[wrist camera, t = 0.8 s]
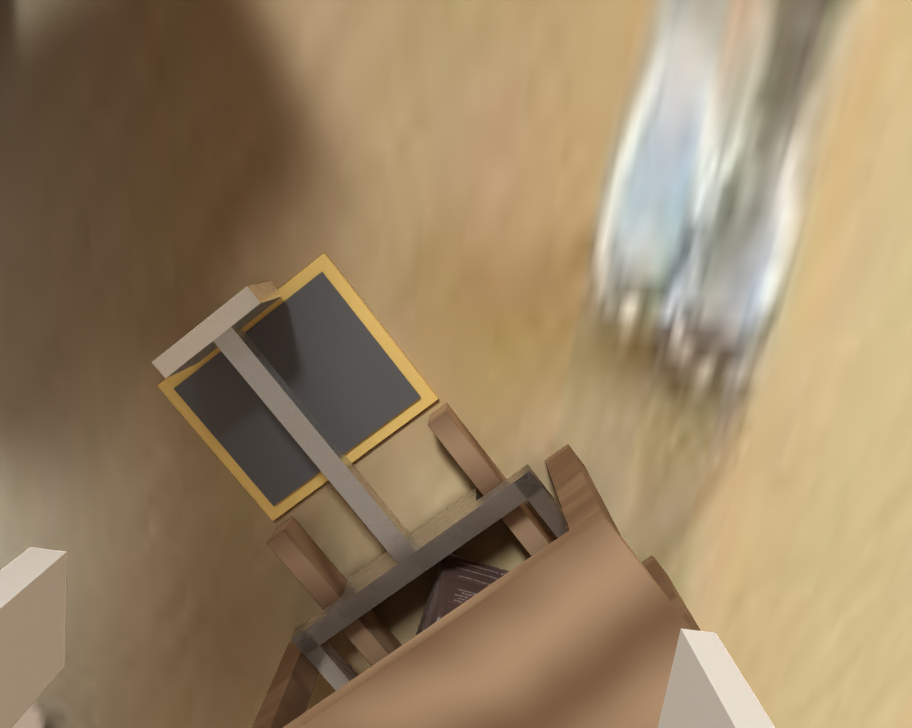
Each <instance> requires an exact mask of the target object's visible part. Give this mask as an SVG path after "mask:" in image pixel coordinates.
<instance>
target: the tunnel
mask: <svg viewBox="0 0 912 728" xmlns="http://www.w3.org/2000/svg"><path fill="white" fill-rule="evenodd" d="M428 426H429V427H430V429H431V430H432V431H433V433H434V434H435V435H436V436H437V438H438V439H439V440H440V441H441V443H442V444H443V445H444V446H445V448H446V449H447V450H448V451H449V453H450V454H451V455H452V457H453V458H454V459H455V460H456V462H457V463H458V464H459V465H460V467H461V468H462V469H463V470H464V472H465V473H466V474H467V476H468V477H469V478H470V479H471V481H472V482H473V483H474V484H475V486H476V487H477V488H478V489H479V491H480V492H481V493H482V494H483V496H484V495H485V494H487V493H488V492H490V491H491V490H492V489H494V488H495V487H497V486H498V485H499V484H501V483H502V482H504V481H505V480H507V479H506V478H505V477H504V475H503V474H502V473H501V472H500V470H499V469H498V468H497V467H496V465H495V464H494V463H493V461H492V460H491V459H490V458H489V456H488V455H487V454H486V452H485V451H484V450H483V449H482V447H481V446H480V445H479V443H478V442H477V441H476V440H475V438H474V437H473V436H472V435H471V433H470V432H469V431H468V429H467V428H466V427H465V426H464V424H463V423H462V422H461V420H460V419H459V418H458V417H457V415H456V414H455V413H454V412H453V410H452V409H451V408H450V406H449V405H448V404H447V403H446V404H445V405H443V406H442V407H441V408H439V409H438V410H437V411H435V412H434V413H432V414H431V415H430V417H429V422H428ZM545 462H546V465H547V468H548V470H549V473H550V476H551V479H552V482H553V484H554V487H555V490H556V493H557V496H558V499H559V501H560V504H561V507H562V510H563V513H564V515H565V518H566V521H567V524H568V527H569V529H570V530H569V531H568V532H566V533H565V534H563V535H562V536H560V537H559V538H557V539H556V540H554V539H553V538H552V537H551V536H550V534H549V533H548V532H547V530H546V529H545V528H544V527H543V525H542V524H541V523H540V522H539V520H538V519H537V518H536V516H535V515H534V514H533V513H532V511H531V510H530V509H529V507H528V506H527V505H526V504H525V502H523V503H522V504H521V505H519V506H518V507H516V508H515V509H513V510H512V511H511V512H509V513H508V514H506V515H505V516H503V517H502V520H503V521H504V522H505V524H506V525H507V526H508V527H509V529H510V530H511V531H512V532H513V534H514V535H515V536H516V537H517V539H518V540H519V541H520V542H521V544H522V545H523V546H524V548H525V549H526V550H527V551H528V553H529V554H530V555H531V557H530V558H528V559H527V560H525V561H524V562H522V563H521V564H520V565H518V566H517V567H515V568H514V569H512V570H511V571H509V572H508V573H506V574H505V575H504V576H502V577H501V578H499V579H498V580H496V581H495V582H493V583H492V584H490V585H489V586H488V587H486V588H485V589H483V590H482V591H480V592H479V593H477V594H476V595H475V596H473V597H472V598H470V599H469V600H467V601H466V602H464V603H463V604H461V605H460V606H459V607H457V608H456V609H454V610H453V611H451V612H450V613H448V614H447V615H445V616H444V617H443V618H441V619H440V620H438V621H437V622H435V623H434V624H432V625H431V626H429V627H428V628H427V629H425V630H424V631H422V632H421V633H419V634H418V635H416V636H415V637H413V638H412V639H411V640H409V641H408V642H406V643H405V644H403V645H401V644H400V642H399V641H398V640H397V639H396V638H395V637H394V635H393V634H392V633H391V632H390V631H389V630H388V628H387V627H386V626H385V625H384V624H383V622H382V621H381V620H380V619H379V618H378V617H377V615H376V614H375V613H374V612H373V611H372V609H371V610H369V611H368V612H367V613H365V614H364V615H362V616H361V617H359V618H358V619H357V620H355V621H354V622H352V623H351V624H349V625H348V626H347V627H345V628H344V629H342V631H343V633H344V634H345V635H346V636H347V637H348V638H349V640H350V641H351V642H352V643H353V644H354V645H355V647H356V648H357V649H358V650H359V651H360V652H361V654H362V655H363V656H364V657H365V658H366V659H367V661H368V662H369V663H370V664H371V665H372V666H371V667H370V668H368V669H367V670H366V671H364V672H363V673H361V674H360V675H358V676H357V677H355V678H354V679H352V680H351V681H350V682H348V683H347V684H345V685H344V686H342V687H341V688H339V689H338V690H336V691H335V692H334V693H332V694H331V695H329V696H328V697H326V698H325V699H323V700H322V701H320V702H319V703H318V704H316V705H315V706H313V707H312V708H310V709H309V710H307V711H306V708H307V705H308V702H309V699H310V696H311V693H312V690H313V687H314V684H315V682H316V679H317V676H318V673H319V671H318V670H317V669H316V668H315V666H314V665H313V664H312V663H311V662H310V661H309V660H308V659H307V657H306V656H305V655H304V654H303V653H302V652H301V651H300V649H299V648H298V647H297V646H296V645H295V644H294V643H293V641H292V640H291V641H290V642H289V644H288V647H287V649H286V651H285V654H284V656H283V658H282V661H281V663H280V665H279V667H278V670H277V672H276V674H275V677H274V679H273V681H272V684H271V686H270V688H269V690H268V693H267V695H266V697H265V700H264V702H263V704H262V707H261V709H260V711H259V713H258V716H257V718H256V720H255V723H254V725H253V727H252V728H658V724H659V720H660V716H661V711H662V707H663V703H664V698H665V694H666V690H667V686H668V681H669V677H670V673H671V668H672V664H673V660H674V656H675V651H676V647H677V643H678V639H679V634H680V630H681V628H682V629H690V630H698V631H701V630H700V629H699V627H698V625H697V624H696V622H695V620H694V619H693V617H692V615H691V614H690V612H689V610H688V609H687V607H686V605H685V604H684V602H683V600H682V599H681V597H680V595H679V594H678V592H677V590H676V589H675V587H674V585H673V584H672V582H671V580H670V578H669V577H668V575H667V574H666V573H665V571H664V570H663V569H662V567H661V566H660V565H659V563H658V562H657V561H656V559H655V558H654V557H653V556H651V557H649V558H648V559H646V560H645V561H643V562H642V563H641V562H640V560H639V559H638V558H637V557H636V555H635V554H634V553H633V551H632V550H631V549H630V547H629V546H628V545H627V543H626V542H625V541H624V539H623V538H622V537H621V535H620V533H619V531H618V529H617V527H616V525H615V523H614V521H613V520H612V518H611V516H610V514H609V512H608V510H607V508H606V506H605V504H604V502H603V500H602V498H601V496H600V495H599V493H598V491H597V489H596V487H595V485H594V483H593V481H592V479H591V477H590V475H589V473H588V471H587V470H586V468H585V466H584V464H583V463H582V462H581V460H580V459H579V458H578V457H577V455H576V454H575V453H574V451H573V450H572V449H571V447H570V446H569V445H566V446H565V447H563V448H562V449H561V450H559V451H558V452H556V453H555V454H554V455H552V456H551V457H549V458H548V459H546V460H545ZM267 544H268V546H269V547H270V548H271V549H272V550H273V551H274V553H275V554H276V555H277V556H278V557H279V558H280V560H281V561H282V562H283V563H284V564H285V565H286V566H287V568H288V569H289V570H290V571H291V572H292V573H293V575H294V576H295V577H296V578H297V579H298V580H299V582H300V583H301V584H302V585H303V586H304V587H305V589H306V590H307V591H308V592H309V593H310V594H311V596H312V597H313V598H314V599H315V600H316V601H317V602H318V604H319V605H320V606H321V607H322V608H323V609H325V608H326V607H327V606H329V605H330V604H332V603H333V602H335V601H336V600H337V599H339V598H340V597H342V596H343V594H344V591H345V588H346V585H347V582H348V581H347V580H346V579H345V578H344V576H343V575H342V574H341V573H340V572H339V571H338V569H337V568H336V567H335V566H334V565H333V563H332V562H331V561H330V560H329V559H328V558H327V556H326V555H325V554H324V553H323V552H322V551H321V549H320V548H319V547H318V546H317V545H316V543H315V542H314V541H313V540H312V539H311V538H310V536H309V535H308V534H307V533H306V532H305V530H304V529H303V528H302V527H301V526H300V525H299V523H298V522H297V521H296V520H295V519H294V517H291V518H290V519H289V520H287V521H286V522H285V523H283V524H282V525H280V526H279V527H278V528H277V529H276V530H275V532H274V533H273V535H272V536H271V538H270V539H269V541H268V542H267ZM305 711H306V712H305Z"/></svg>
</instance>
